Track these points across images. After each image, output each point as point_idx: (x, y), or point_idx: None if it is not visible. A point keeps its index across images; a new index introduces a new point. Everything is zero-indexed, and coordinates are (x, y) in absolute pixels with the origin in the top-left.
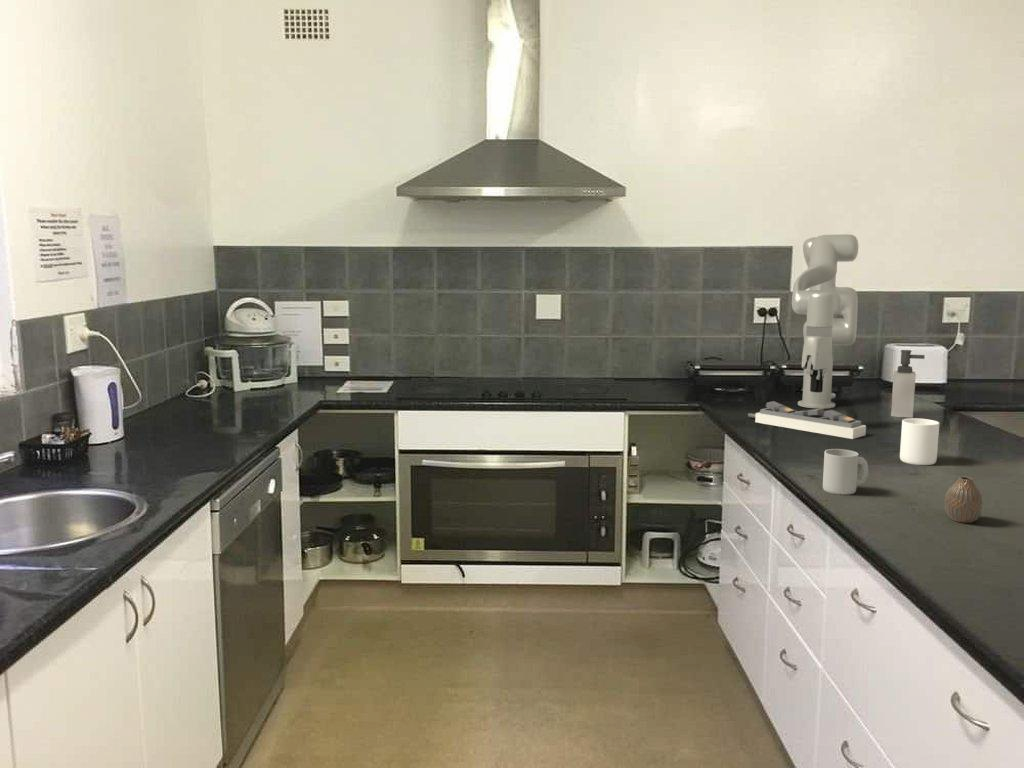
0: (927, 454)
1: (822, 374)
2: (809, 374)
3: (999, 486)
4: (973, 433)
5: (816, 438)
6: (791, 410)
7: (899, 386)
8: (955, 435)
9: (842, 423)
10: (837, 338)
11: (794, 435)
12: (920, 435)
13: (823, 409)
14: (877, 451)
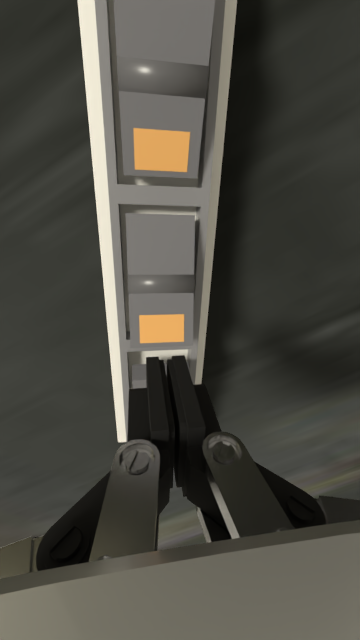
0: None
1: (208, 542)
2: (54, 525)
3: None
4: (351, 495)
5: (35, 361)
6: (168, 171)
7: None
8: (314, 491)
9: (125, 419)
10: None
11: (3, 293)
12: None
13: (189, 344)
14: (46, 496)
